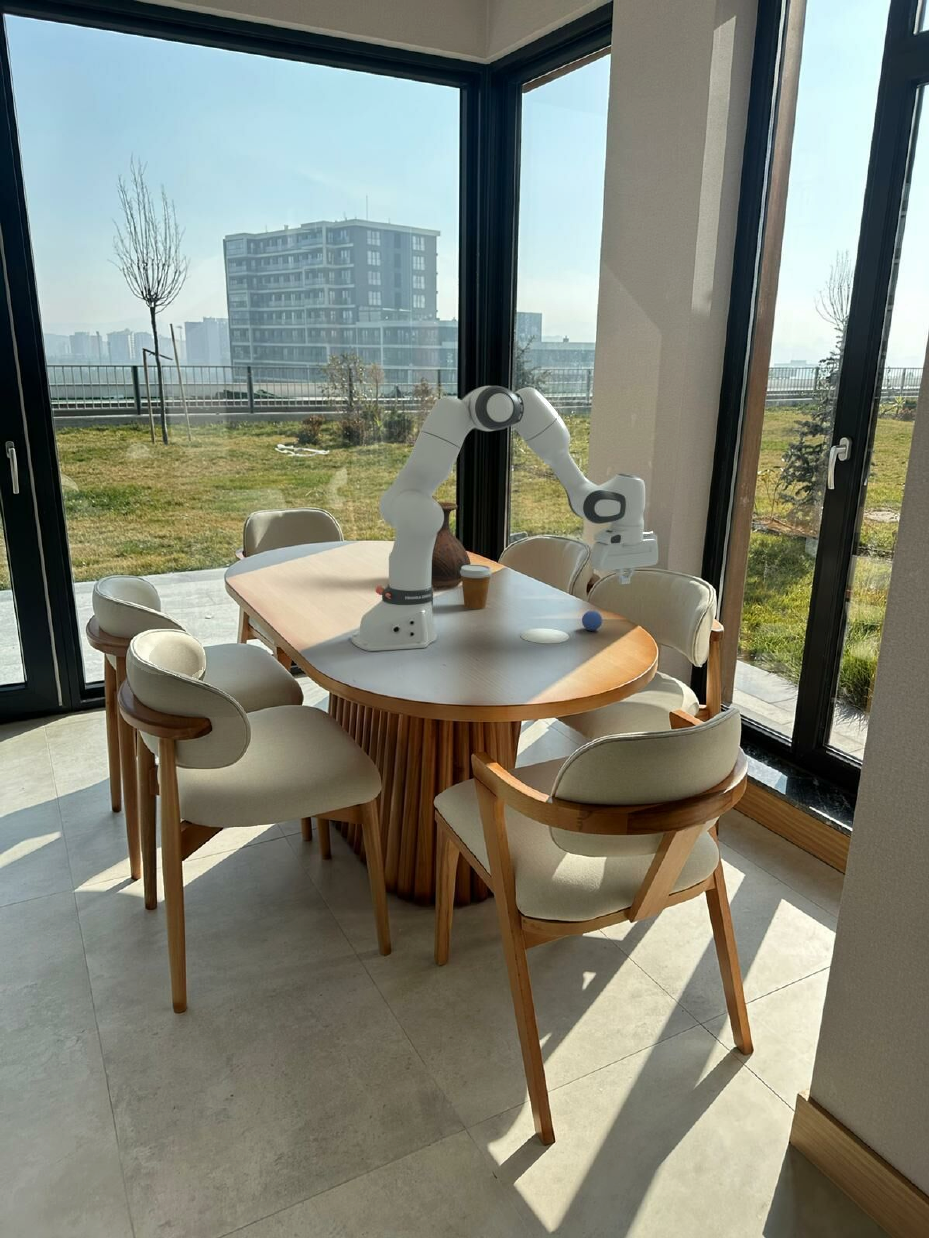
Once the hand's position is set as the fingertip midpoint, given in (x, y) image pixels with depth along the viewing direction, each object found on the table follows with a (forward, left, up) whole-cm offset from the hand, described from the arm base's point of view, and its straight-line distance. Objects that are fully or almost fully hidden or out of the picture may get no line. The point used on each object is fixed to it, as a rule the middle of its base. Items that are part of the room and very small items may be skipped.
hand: (623, 583), depth 240 cm
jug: (-28, +64, -13) cm, 71 cm away
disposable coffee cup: (-29, +34, -13) cm, 46 cm away
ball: (-10, 0, -10) cm, 14 cm away
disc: (-25, 0, -12) cm, 28 cm away
